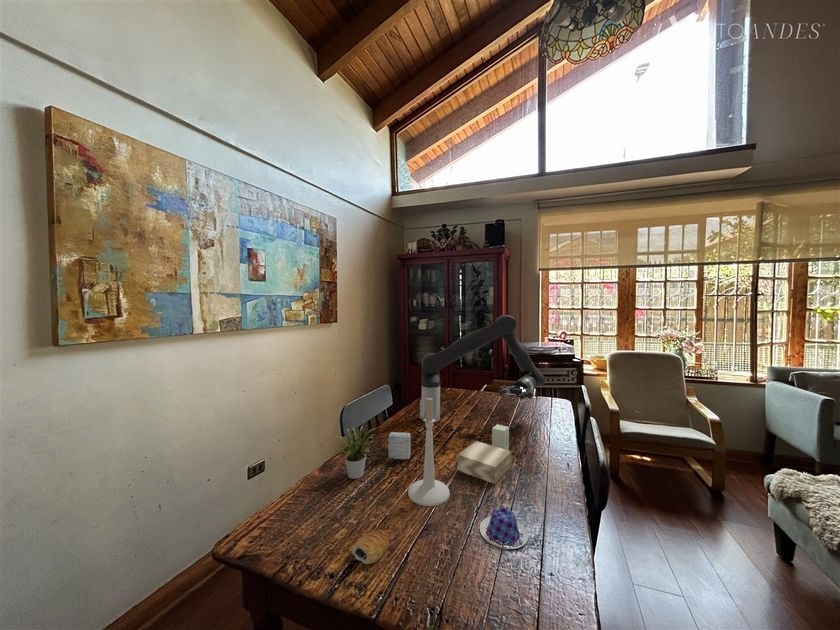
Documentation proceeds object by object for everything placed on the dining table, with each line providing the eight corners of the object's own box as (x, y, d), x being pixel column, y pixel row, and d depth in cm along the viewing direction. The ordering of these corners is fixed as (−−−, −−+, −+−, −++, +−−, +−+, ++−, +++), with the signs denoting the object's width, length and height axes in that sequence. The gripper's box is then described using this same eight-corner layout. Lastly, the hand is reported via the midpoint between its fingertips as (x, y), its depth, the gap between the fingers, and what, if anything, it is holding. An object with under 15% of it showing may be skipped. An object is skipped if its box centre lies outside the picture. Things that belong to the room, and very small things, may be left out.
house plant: (388, 469, 112) (388, 424, 112) (365, 490, 100) (365, 439, 99) (354, 461, 118) (354, 417, 118) (329, 479, 106) (329, 431, 105)
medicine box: (410, 454, 124) (410, 432, 124) (409, 460, 120) (409, 437, 119) (390, 453, 125) (390, 431, 124) (388, 459, 120) (388, 436, 120)
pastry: (376, 533, 82) (376, 518, 82) (397, 544, 78) (397, 528, 78) (349, 557, 74) (349, 541, 74) (371, 570, 70) (371, 553, 70)
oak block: (457, 471, 112) (457, 454, 112) (476, 456, 124) (476, 441, 123) (495, 485, 104) (495, 467, 104) (511, 467, 115) (511, 451, 115)
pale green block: (491, 453, 126) (492, 428, 125) (496, 448, 130) (497, 424, 129) (504, 456, 123) (504, 431, 122) (508, 451, 127) (509, 427, 126)
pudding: (538, 546, 78) (538, 525, 78) (494, 556, 75) (494, 534, 74) (511, 514, 89) (511, 496, 89) (471, 522, 86) (472, 503, 86)
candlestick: (419, 511, 90) (420, 406, 89) (401, 487, 102) (401, 394, 100) (457, 498, 96) (458, 400, 95) (436, 478, 107) (436, 389, 106)
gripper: (508, 377, 151) (494, 384, 138) (539, 381, 143) (527, 389, 130) (507, 392, 152) (494, 401, 139) (538, 397, 143) (527, 407, 130)
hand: (510, 395), depth 134 cm, fingers open, 8 cm apart
